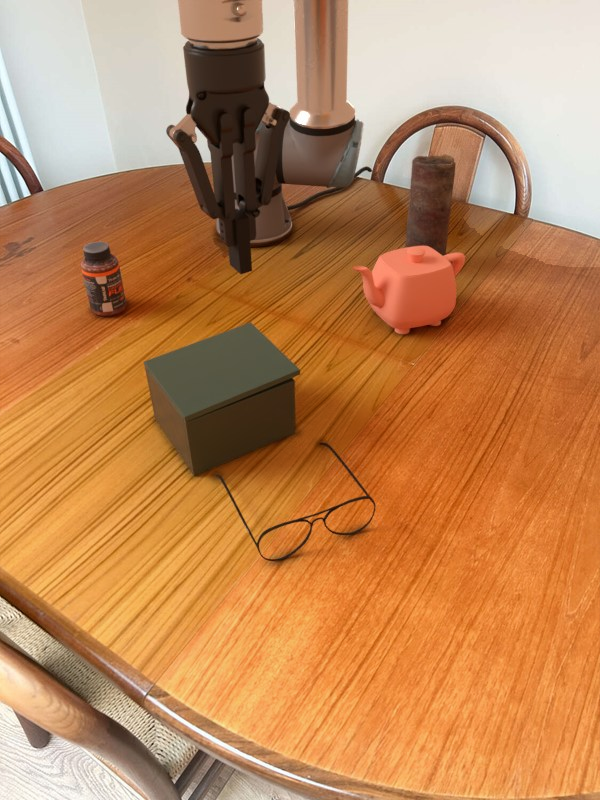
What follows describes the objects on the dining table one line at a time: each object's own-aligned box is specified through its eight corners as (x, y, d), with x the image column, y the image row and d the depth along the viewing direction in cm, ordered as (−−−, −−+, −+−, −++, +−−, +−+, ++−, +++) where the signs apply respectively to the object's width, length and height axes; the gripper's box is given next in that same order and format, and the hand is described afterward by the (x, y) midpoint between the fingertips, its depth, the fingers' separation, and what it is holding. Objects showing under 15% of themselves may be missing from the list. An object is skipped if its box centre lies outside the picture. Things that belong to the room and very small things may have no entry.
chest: (250, 383, 94) (246, 332, 89) (295, 433, 86) (294, 380, 80) (154, 419, 88) (144, 366, 83) (194, 476, 80) (185, 422, 75)
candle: (397, 271, 119) (408, 161, 107) (407, 254, 125) (419, 147, 112) (439, 279, 117) (454, 167, 104) (447, 261, 122) (463, 152, 110)
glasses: (258, 569, 70) (254, 535, 67) (217, 486, 81) (212, 454, 78) (377, 526, 74) (377, 492, 71) (322, 453, 86) (320, 422, 83)
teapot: (436, 288, 115) (446, 224, 107) (476, 322, 106) (489, 254, 99) (333, 313, 109) (335, 246, 101) (367, 351, 100) (372, 281, 92)
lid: (251, 326, 89) (250, 322, 88) (300, 374, 80) (300, 369, 80) (144, 366, 83) (143, 361, 82) (185, 422, 75) (184, 417, 74)
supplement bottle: (118, 319, 108) (105, 257, 100) (85, 316, 109) (69, 253, 101) (132, 301, 112) (120, 239, 105) (100, 297, 113) (86, 236, 106)
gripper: (174, 57, 55) (203, 298, 71) (304, 37, 60) (306, 266, 76) (141, 40, 60) (175, 269, 75) (264, 23, 65) (273, 241, 81)
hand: (240, 267), depth 76 cm, fingers closed
